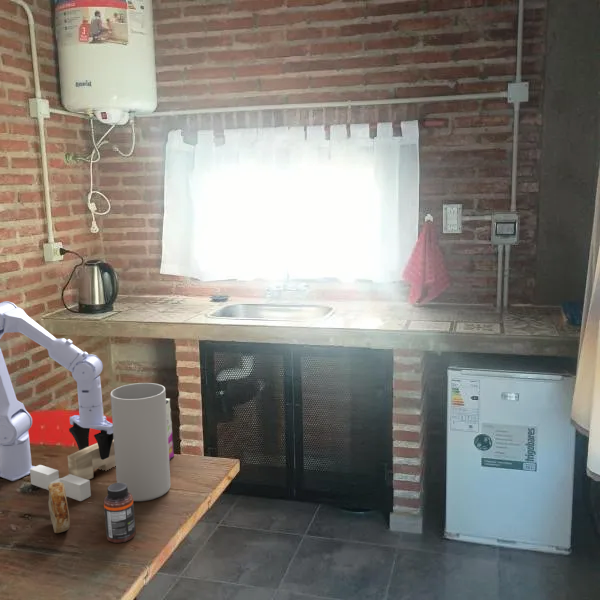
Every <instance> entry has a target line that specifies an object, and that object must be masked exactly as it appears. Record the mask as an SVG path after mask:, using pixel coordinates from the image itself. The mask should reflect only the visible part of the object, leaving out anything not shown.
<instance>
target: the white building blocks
mask: <svg viewBox="0 0 600 600" xmlns="http://www.w3.org/2000/svg"><path fill="white" fill-rule="evenodd" d="M29 476H30V484H31V485H33V486H36V487H38V488H41V489H43V490H47V491H49V490H48V485H49V484H52V483H56V482H62V483H64V487H65V492H66V498H70V499H73V500H76V501H79V502H82V501H84V500H87V499H88V498H89V497H91V496H92V492H91V482H90V480H91V479H89V480H87V479H84V478H81V477H78V476H74V475H71V474H69V473H68V474H67V475H65V476H63V477H60V472H59V470H58V469H56V468H52V467H49V466H47V465H46V466H45V465H42V464H38V465H36V466H35V467H33V468H31V469H30V474H29Z"/></svg>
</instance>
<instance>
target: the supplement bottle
mask: <svg viewBox="0 0 600 600" xmlns="http://www.w3.org/2000/svg"><path fill="white" fill-rule="evenodd" d="M103 499H104V500H103V510H104V521H105V522H104V523H105V534H106V538H107V541H108V542H111V543H114V544H115V543H116V544H120V543H121V544H122V543H125V542H127V541H129V540H131V539H133V538H134V536H135V535H136V521H135V507H134V506H135V505H134V504H135V503H134V501H133V496H132V494H131V493H129V492H128V488H127V484H125V483H117V482H114V483H111V484H109V486H108V487H107V495H106V496H105V497H104V498H103Z"/></svg>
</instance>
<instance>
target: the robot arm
mask: <svg viewBox="0 0 600 600" xmlns="http://www.w3.org/2000/svg"><path fill="white" fill-rule="evenodd" d="M5 333H6V334H7V333H10V334H11V333H20V334H22V335H24V336H25V337H27V338H29V339H30V340H31V341H33V342H34V343H36V344H38V345H40V346H41V347H43V348H44V349H46V350H47V353H48V356H49V358H50V359H52V360H53V361H55V362H56V363H58V364H59V365H60V366H61V367H64V368H65V369H66V370H68V371H69V372H71V375H72V376H71V377H72V378H73V380H74V381H75V382H76V387H77V388H76V389H77V400H78V413H79V414H74V415H72V416H69V424H70V425H72V426H71V427H69V428H68V432H70V434H71V436H73V439H74V440H75V443H76V445H77V448H78V451H80V450H82V449H84V448H87V447H89V446H90V439H89V438H90V431H91V429H93V430H97V431H100V432H98V433H95V434H94V435H93V437H94V439H95V440H96V443H98V447H99V452H100V457H101V459H102V460H104V459H106V458H108V457H109V454H110V449H111V445H112V442H113V439H114V436H113V422H110V421H108V420H107V416H105V415H104V408H103V407H104V405H103V395H102V394H103V393H102V384H101V383H102V382H101V373H102V371H103V368H104V365H103V364H104V363H103V362H102V360H101V358H99V356H98V355H96V354H91V353H90V354H89V353H88V352H87V351H83V350H82V349H80V348H79V347H78V346H76V345H75V344H73V340H71V339H70V338H68V339H66V338H64V337H62V338H56V337H55V336H54V335H53V334H51V333H50V332H49V331H48V330H47V329H45V328H44V327H43V326H42V325H40V324H39V323H38V322H36V321H35V320H34V319H33V318H32V317H30V316H29V315H28V314H27V313H26V312H25V310H24V309H23V308H21V307H20V306H17V305H16V304H15V303H14V302H11V301H6V300H4V301H2V302H0V340H1V339H2V337H3V336H4V335H5ZM32 425H33V417H32V416H31V413H29V412H28V411H27V409H26V407H25V405H24V403H23V402H22V401H19V400H18V399H17V396H16V392H15V389H14V386H13V383H12V380H11V376H10V374H9V371H8V367H7V363H6V361H5V358H4V355H3V351H2V349H1V347H0V478H3V479H5V480H8V481H11V482H15V481H18V480H19V479H21V478H24V477H26V476H28V475H29V476H30V469H31V468H33V467H36V466H35V465H32V455H31V454H32V453H31V444H30V434H29V430H30V428H31V427H32Z"/></svg>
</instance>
